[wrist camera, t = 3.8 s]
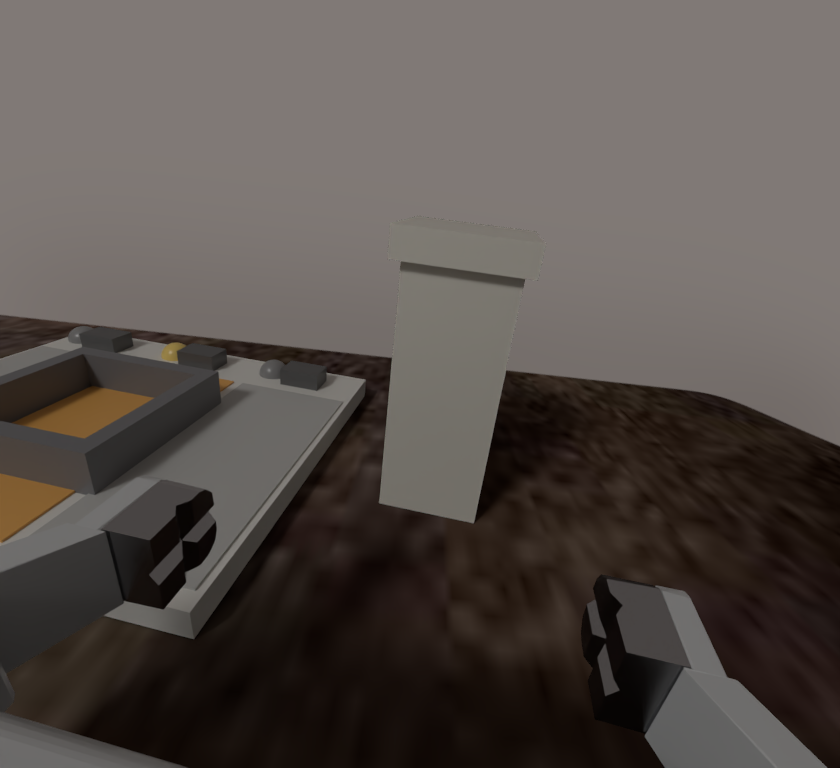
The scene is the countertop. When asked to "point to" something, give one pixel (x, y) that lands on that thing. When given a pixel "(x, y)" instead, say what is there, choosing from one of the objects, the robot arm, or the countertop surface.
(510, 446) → the countertop surface
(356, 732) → the countertop surface
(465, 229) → the plug
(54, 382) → the board
